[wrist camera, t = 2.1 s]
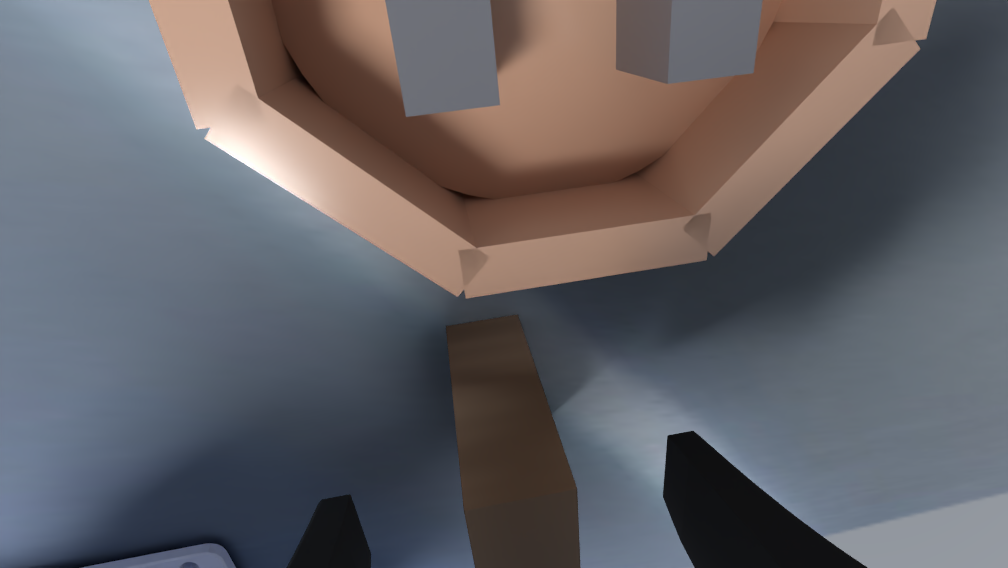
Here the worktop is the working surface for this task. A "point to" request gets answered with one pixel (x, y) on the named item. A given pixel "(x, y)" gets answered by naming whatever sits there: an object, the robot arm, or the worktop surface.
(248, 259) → the worktop surface
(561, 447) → the brown rectangular block
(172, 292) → the worktop surface
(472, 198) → the tan octagonal tray
